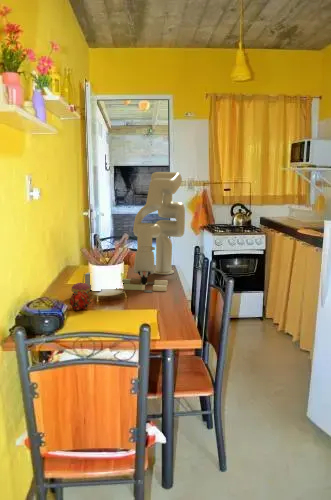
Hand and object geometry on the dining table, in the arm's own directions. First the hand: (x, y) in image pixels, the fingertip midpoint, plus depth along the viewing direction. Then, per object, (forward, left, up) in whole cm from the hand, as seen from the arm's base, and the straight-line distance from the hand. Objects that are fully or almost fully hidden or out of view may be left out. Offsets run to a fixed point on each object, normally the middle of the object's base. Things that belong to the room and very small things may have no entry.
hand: (144, 284), depth 217 cm
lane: (0, -1, -2) cm, 2 cm away
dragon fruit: (+41, -23, -2) cm, 47 cm away
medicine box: (+10, -24, -2) cm, 26 cm away
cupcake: (+24, -27, -2) cm, 36 cm away
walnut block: (0, -4, -2) cm, 5 cm away
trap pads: (0, +3, -2) cm, 3 cm away
